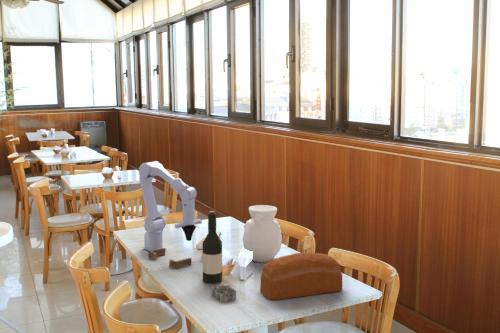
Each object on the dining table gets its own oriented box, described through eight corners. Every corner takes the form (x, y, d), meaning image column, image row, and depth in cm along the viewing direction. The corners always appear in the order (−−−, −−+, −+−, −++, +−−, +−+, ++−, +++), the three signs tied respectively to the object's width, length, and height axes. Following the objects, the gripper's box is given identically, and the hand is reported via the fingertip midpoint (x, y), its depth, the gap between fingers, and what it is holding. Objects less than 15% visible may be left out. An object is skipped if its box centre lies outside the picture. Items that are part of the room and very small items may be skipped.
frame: (148, 257, 276) (148, 251, 276) (163, 253, 282) (163, 247, 281) (176, 268, 260) (176, 262, 259) (191, 264, 266) (191, 258, 265)
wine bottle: (226, 279, 247) (225, 210, 242) (215, 285, 239) (214, 214, 235) (209, 276, 251) (209, 208, 246) (198, 281, 244) (198, 212, 239)
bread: (257, 290, 235) (257, 253, 232) (329, 280, 246) (330, 245, 243) (269, 302, 222) (270, 263, 220) (345, 292, 233) (346, 254, 231)
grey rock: (209, 294, 230) (209, 284, 230) (226, 291, 234) (226, 281, 233) (221, 303, 221) (221, 293, 220) (238, 299, 225) (238, 289, 224)
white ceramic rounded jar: (275, 267, 263) (275, 213, 259) (237, 262, 268) (237, 210, 265) (286, 255, 280) (286, 205, 276) (250, 251, 286) (250, 202, 282)
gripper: (181, 216, 267) (181, 245, 270) (205, 211, 277) (205, 239, 279) (172, 213, 273) (172, 241, 275) (196, 209, 282) (196, 236, 284)
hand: (188, 240), depth 277 cm, fingers closed
